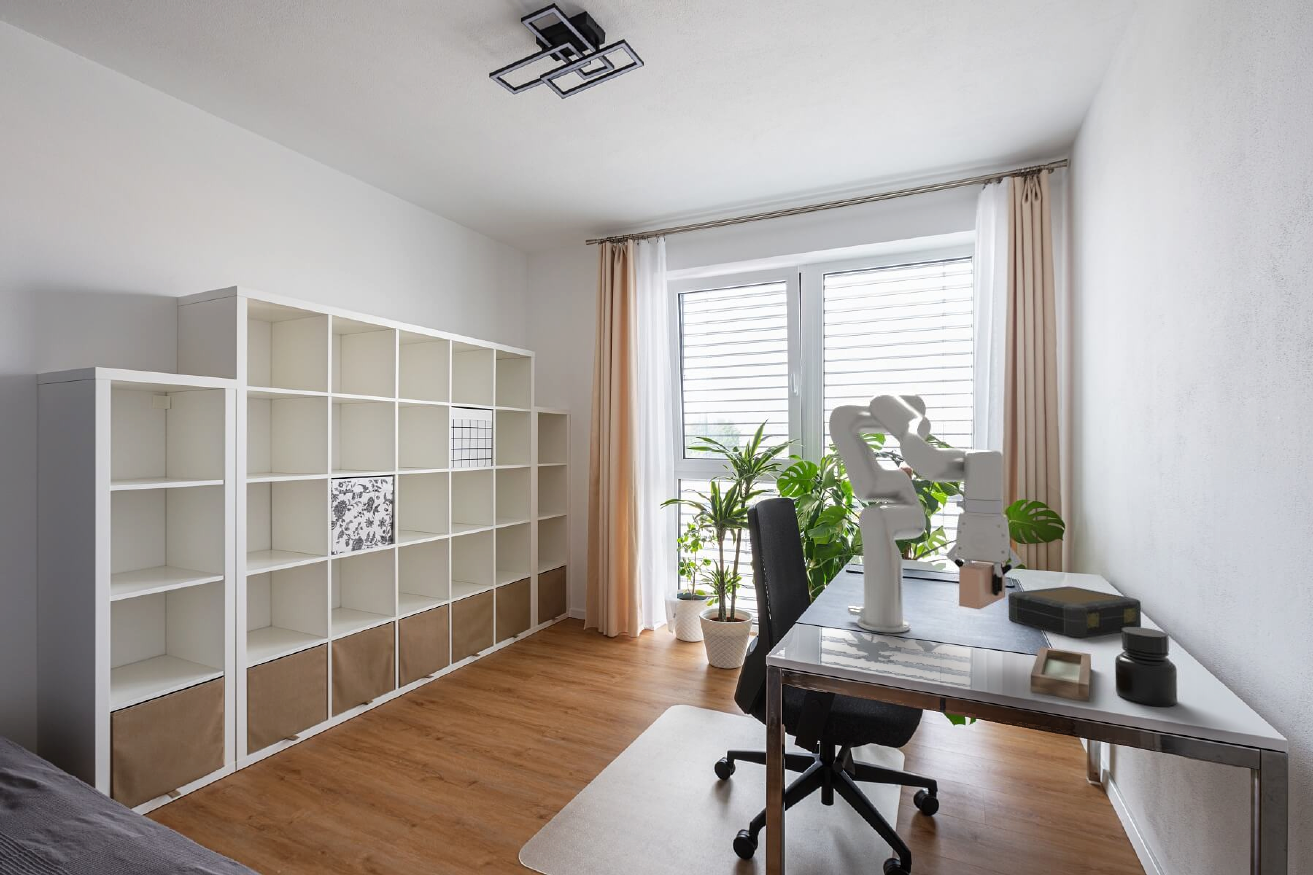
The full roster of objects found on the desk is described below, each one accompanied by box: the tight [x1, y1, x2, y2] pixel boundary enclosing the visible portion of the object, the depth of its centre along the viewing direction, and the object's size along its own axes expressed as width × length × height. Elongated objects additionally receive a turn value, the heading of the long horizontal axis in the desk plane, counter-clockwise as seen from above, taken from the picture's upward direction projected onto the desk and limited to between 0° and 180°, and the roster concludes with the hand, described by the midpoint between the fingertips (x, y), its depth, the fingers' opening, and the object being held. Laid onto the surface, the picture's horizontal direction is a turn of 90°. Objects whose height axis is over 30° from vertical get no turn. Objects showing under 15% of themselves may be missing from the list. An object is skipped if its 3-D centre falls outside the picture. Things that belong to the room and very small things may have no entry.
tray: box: [1030, 646, 1092, 703], centre depth 127 cm, size 9×22×3 cm, turn 145°
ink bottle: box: [1114, 627, 1178, 707], centre depth 118 cm, size 10×9×12 cm
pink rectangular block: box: [958, 561, 1006, 610], centre depth 139 cm, size 4×16×8 cm, turn 135°
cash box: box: [1007, 586, 1142, 639], centre depth 170 cm, size 25×20×8 cm
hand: (982, 591), depth 139 cm, fingers closed on pink rectangular block, 4 cm apart
